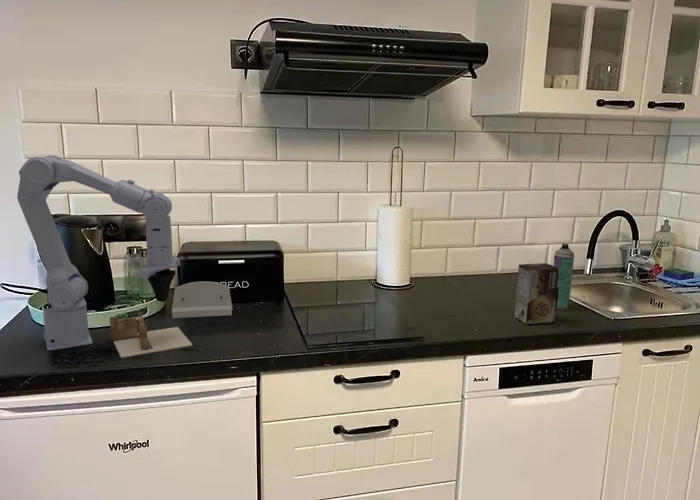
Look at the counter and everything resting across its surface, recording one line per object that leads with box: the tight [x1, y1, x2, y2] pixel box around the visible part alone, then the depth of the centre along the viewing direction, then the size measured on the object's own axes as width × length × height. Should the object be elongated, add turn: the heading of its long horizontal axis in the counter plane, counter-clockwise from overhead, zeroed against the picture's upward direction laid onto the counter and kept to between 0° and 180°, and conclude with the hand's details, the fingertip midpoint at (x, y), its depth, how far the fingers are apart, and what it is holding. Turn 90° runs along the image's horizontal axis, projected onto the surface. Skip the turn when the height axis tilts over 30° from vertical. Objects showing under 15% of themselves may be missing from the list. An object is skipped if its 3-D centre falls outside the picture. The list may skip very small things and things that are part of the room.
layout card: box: [112, 326, 193, 359], centre depth 134 cm, size 16×14×1 cm
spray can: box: [553, 243, 575, 308], centre depth 168 cm, size 6×6×20 cm
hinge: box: [171, 280, 234, 319], centre depth 157 cm, size 17×5×10 cm, turn 103°
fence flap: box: [137, 311, 148, 349], centre depth 132 cm, size 11×2×6 cm, turn 24°
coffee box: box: [514, 262, 559, 323], centre depth 155 cm, size 9×6×16 cm
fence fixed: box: [109, 316, 138, 342], centre depth 135 cm, size 6×2×6 cm, turn 121°
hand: (161, 300), depth 134 cm, fingers closed
